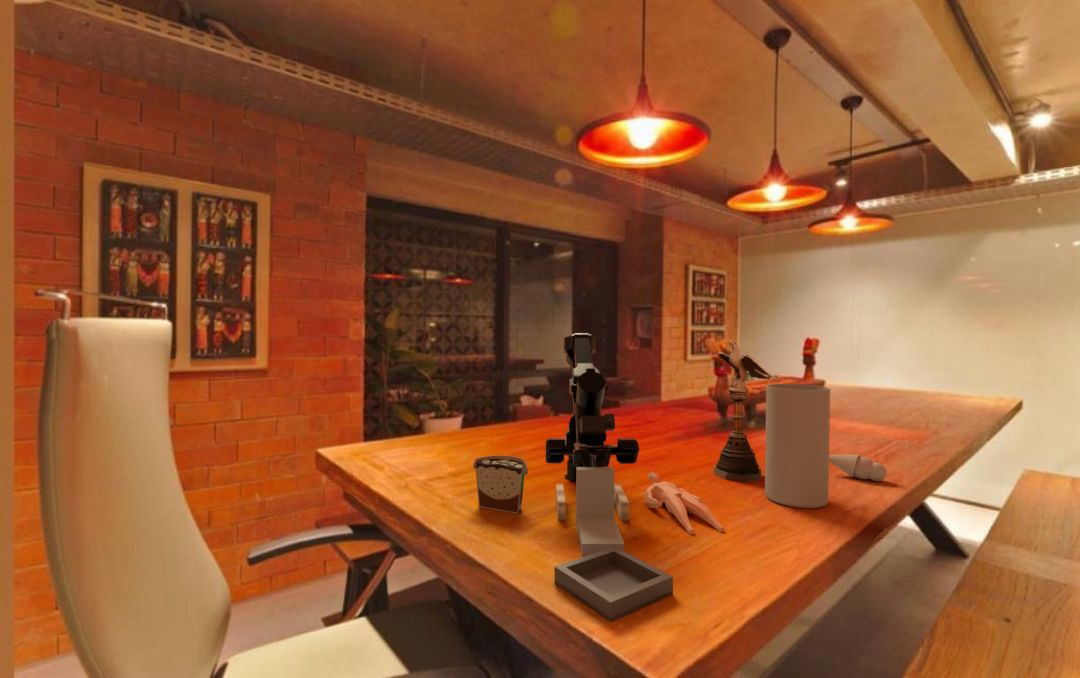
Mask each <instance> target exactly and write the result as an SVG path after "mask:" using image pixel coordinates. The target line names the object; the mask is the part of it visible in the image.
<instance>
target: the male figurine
mask: <svg viewBox="0 0 1080 678" xmlns="http://www.w3.org/2000/svg"><path fill="white" fill-rule="evenodd" d="M647 479H648V480H650V482H651V484H652V485H650V486H648V488H646V489H645V492H644V502H645V503H646V505H647V507H648V508H651V509H657V508H658V509H659V508H660V507H662V506H663V504H665V507H666V508H665V509H667V511H668V512H669V513H671V514H673V515H674V517H675V518H676V519H677V520H678V522H679V523H680V524H681V525H682V526H683V527H684V529H685V530H686V532H687V533H688V535H695V533H696V531H695V529H694V528H693V525H692V524H691V522H690V520H689V519H690V518H689V516H688V514H695V515H697V516H698V517H699V518H701V519H702V520H703V521H705V522H707V523H708V524H709V525H711V526H712V527H713V528H714V529H716V530H717V531H718V532H719V533H722V532H725V527H724V526H723V525H722V524H721V523H720V522H719V521H718V520H717V519H716V517H715V515H714V514H713V513H712V511H711V510H710V508H709V507H708V506H707V505H706V504H703V501H704V500H703V498H702V497H698V496H696V495H694V494H691V493H690V492H688V491H687V490H685V489H683V488H682V487H678V486H676V485H675V484H674V483H673V482H669V481H665V480H664V481H662V482H661V481H660V480H661V479H660V476H659V475H658V474H657V473H656V471H651V472H649V473H648V475H647Z"/></svg>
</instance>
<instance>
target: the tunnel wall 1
mask: <svg viewBox="0 0 1080 678" xmlns="http://www.w3.org/2000/svg"><path fill="white" fill-rule="evenodd" d="M555 505H556V514H557V521H566V520H567V519H566V516H567V515H566V514H567V512H566V511H567V510H566V507H567V506H566V505H567V503H566V496H565V489H564V484H563V483H556V484H555Z"/></svg>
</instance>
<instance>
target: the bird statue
mask: <svg viewBox="0 0 1080 678" xmlns="http://www.w3.org/2000/svg"><path fill="white" fill-rule="evenodd" d="M728 346H730V347H729V348H728V351H726V353H724V352H719V353H718V354H717V357H719V358H720V359H722V361H724V362H725V363H726V364H728V366H730V367H731V368H732V369H733V370H734V376H735V378H734V379H733V380H732V381H730V387H728V388H727V391H728V392H729V394H728V398H729V399H730V400H733V402H732V403H733V415H732V416H731V418H732V419H733V430H731V432H730V433H729V434H728V438H727V440H726V442H725V445H724V446H723V447H722V449H721V451H720V452H719V454H720V455H719V458H718V461H717V463H716V464H715V465H714V466H713V475H715V476H717V477H720V478H722V479H725V480H728V481H736V482H742V483H743V482H744V483H745V482H754V481H761V478H762V469H761V468H760V465H759V464H758V461H757V458H756V452H754V449H752V447H751V444H750V443H749V440H748V435H747V434H746V433H745V432H744V431H743V428H744V427H743V421H744V418H745V416H744V410H743V409H744V405H743V403H744V401H746V400H748V393H749V391H750V390H749V388H747V384H746V378H747V375H749V377H750V378H751V379H752V378H755V379H759V380H761V379H762V380H770V379H771V378H772V379H773V380H774V381H775V382H777V384H780V381H779V380H778V377H779V375H778V374H775V373H769V372H768V371H767V370H765V369H764V368H763V367H762V366H761V364H759V363H758V362H757V361H756V360H755V359H754V358H753V357H751V356H750V355H749V354H742V356H741V355H740V347H739V345H738V343H736V342H734V341H729V342H728ZM731 348H732V351H731Z"/></svg>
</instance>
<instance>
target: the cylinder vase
mask: <svg viewBox="0 0 1080 678" xmlns="http://www.w3.org/2000/svg"><path fill="white" fill-rule="evenodd" d="M765 388H766V389H765V391H766V393H765V397H766V398H765V400H766V401H765V455H764V457H765V458H764V459H765V463H764V465H765V467H764V469H765V470H764V472H765V473H764V478H765V479H764V493H765V495H766V497H767V498H768V499H769V500H771V501H772V502H775V503H776V504H780V505H783V506H786V507H791V508H797V509H798V508H799V509H819V508H822V507H825V506H826V505H827V504H828V503H829V484H830V481H829V480H830V478H829V477H830V476H829V475H830V462H829V455H830V428H831V427H830V423H831V422H830V420H831V413H830V412H831V388H830V387H828V386H822V385H812V384H796V383H795V384H794V383H771V384H766V386H765Z"/></svg>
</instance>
